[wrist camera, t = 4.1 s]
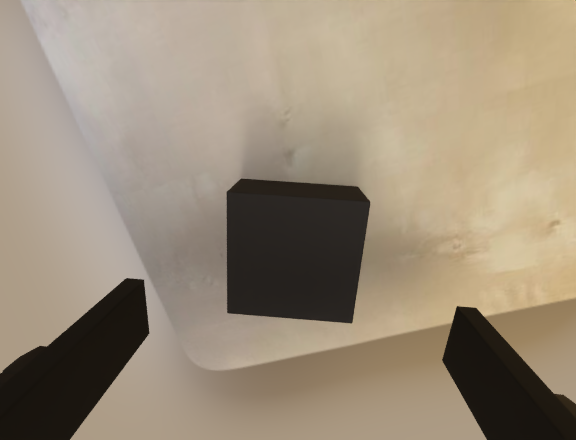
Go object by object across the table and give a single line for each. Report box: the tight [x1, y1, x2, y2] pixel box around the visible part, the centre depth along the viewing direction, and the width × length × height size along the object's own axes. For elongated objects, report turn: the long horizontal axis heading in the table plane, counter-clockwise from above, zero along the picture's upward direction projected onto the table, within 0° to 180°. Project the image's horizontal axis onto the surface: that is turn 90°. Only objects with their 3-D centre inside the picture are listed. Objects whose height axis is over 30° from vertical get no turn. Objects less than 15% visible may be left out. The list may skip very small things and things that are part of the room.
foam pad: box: [227, 179, 370, 323], centre depth 20 cm, size 8×8×4 cm
